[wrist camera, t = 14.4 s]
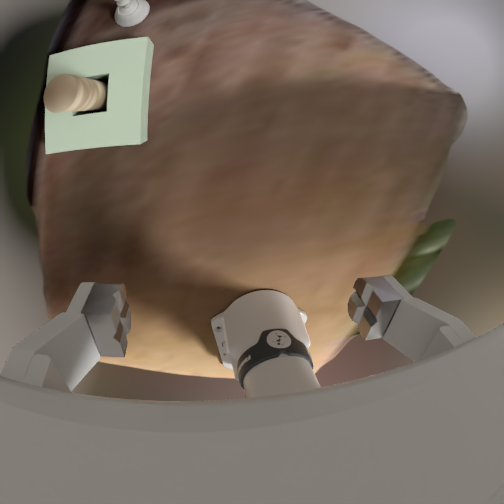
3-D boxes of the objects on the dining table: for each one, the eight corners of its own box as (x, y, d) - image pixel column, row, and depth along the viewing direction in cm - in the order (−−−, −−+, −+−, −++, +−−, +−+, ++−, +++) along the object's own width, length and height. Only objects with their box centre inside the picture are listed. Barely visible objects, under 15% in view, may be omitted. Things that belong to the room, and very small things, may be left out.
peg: (114, 108, 30) (75, 109, 19) (89, 111, 29) (43, 116, 18) (116, 81, 28) (78, 70, 17) (90, 84, 27) (44, 78, 16)
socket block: (147, 140, 33) (140, 144, 29) (60, 148, 30) (45, 154, 26) (153, 44, 26) (148, 36, 23) (63, 59, 24) (49, 55, 20)
